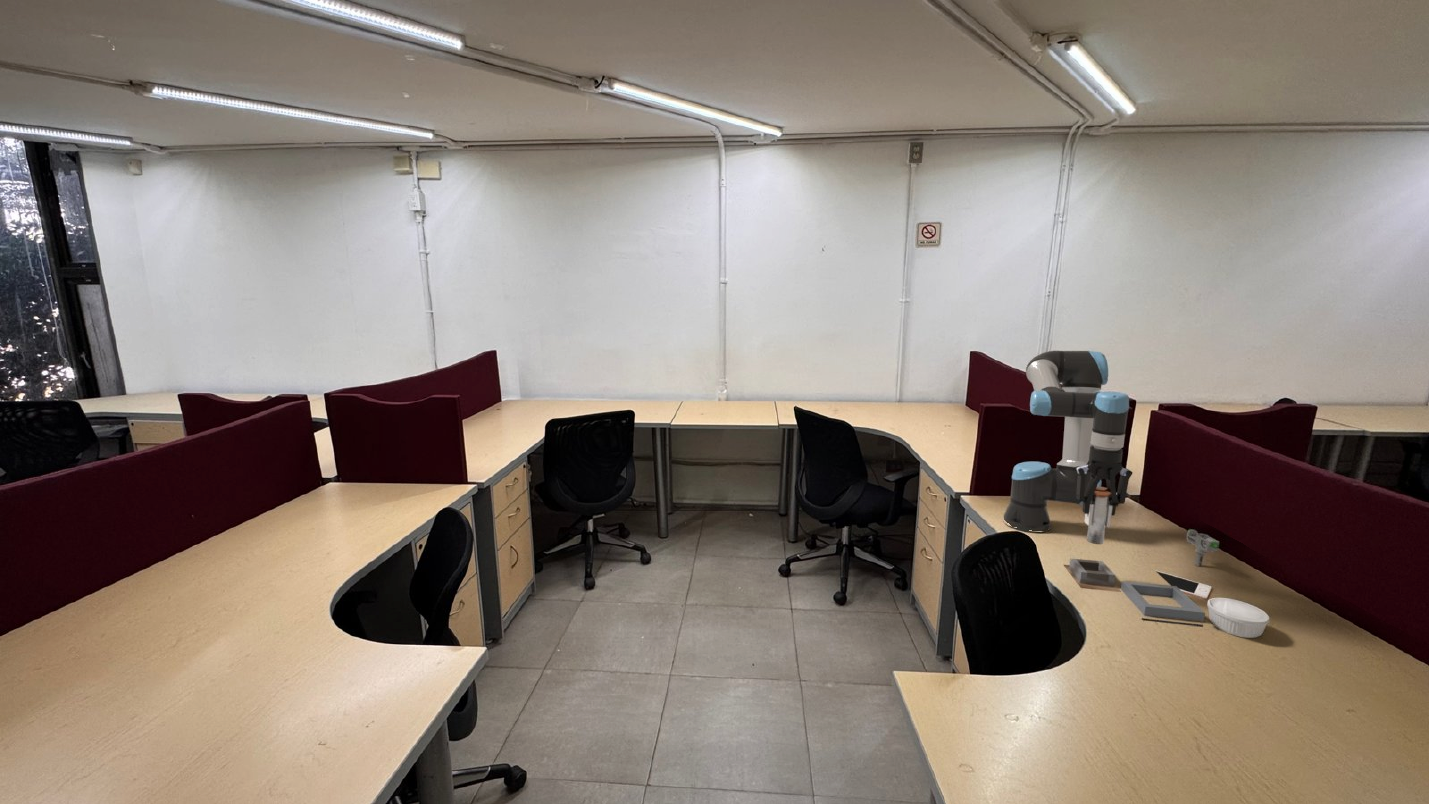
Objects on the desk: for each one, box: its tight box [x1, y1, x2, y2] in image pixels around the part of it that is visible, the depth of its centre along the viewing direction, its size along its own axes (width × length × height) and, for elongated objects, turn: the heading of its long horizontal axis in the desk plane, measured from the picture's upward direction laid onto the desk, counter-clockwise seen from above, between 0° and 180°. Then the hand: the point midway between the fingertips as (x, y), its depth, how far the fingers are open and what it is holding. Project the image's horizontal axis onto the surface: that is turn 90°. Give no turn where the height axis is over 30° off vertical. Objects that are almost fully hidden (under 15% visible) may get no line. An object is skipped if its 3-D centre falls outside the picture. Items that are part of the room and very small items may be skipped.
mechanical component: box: [1186, 528, 1220, 567], centre depth 167 cm, size 3×10×10 cm, turn 174°
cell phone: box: [1154, 570, 1212, 600], centre depth 159 cm, size 9×18×1 cm, turn 41°
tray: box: [1120, 581, 1206, 628], centre depth 145 cm, size 13×13×4 cm
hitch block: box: [1063, 558, 1122, 593], centre depth 159 cm, size 14×10×5 cm
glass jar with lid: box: [1086, 486, 1112, 545], centre depth 156 cm, size 5×5×16 cm
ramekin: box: [1206, 597, 1270, 639], centre depth 137 cm, size 11×11×5 cm
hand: (1097, 524), depth 156 cm, fingers closed on glass jar with lid, 4 cm apart
